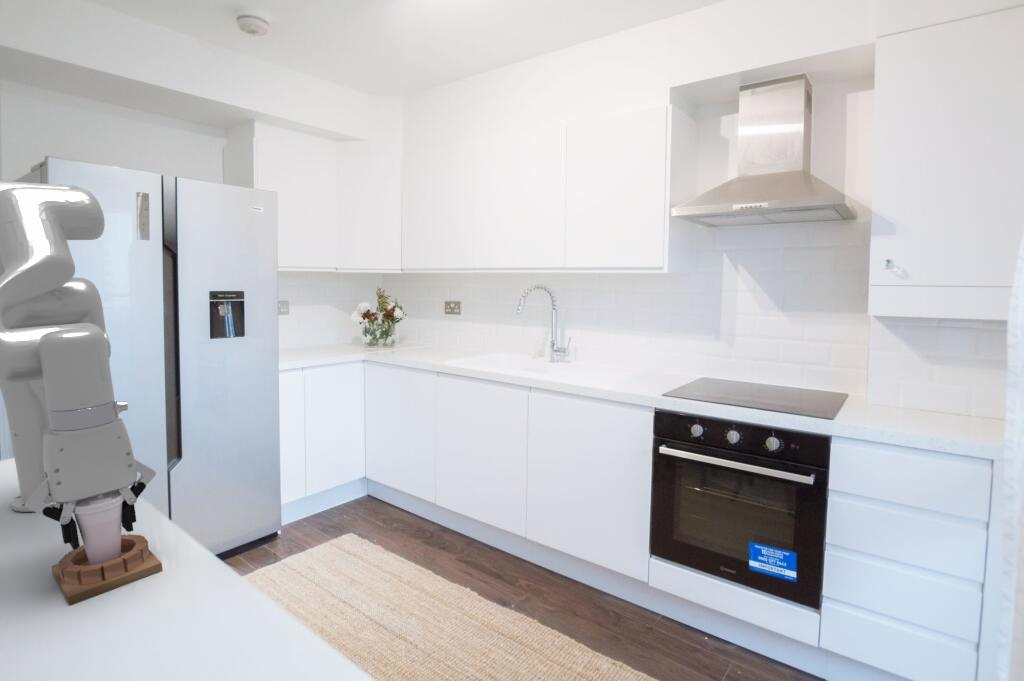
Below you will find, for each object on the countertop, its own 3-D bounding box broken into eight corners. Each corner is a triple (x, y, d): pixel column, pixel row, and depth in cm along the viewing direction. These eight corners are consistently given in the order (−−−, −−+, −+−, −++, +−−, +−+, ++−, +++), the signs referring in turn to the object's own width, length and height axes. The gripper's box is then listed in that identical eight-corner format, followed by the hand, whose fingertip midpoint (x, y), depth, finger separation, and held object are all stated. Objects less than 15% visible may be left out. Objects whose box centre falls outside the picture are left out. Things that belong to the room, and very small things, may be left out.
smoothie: (104, 574, 80) (91, 478, 78) (66, 570, 81) (53, 476, 79) (142, 551, 86) (131, 462, 84) (106, 547, 87) (95, 460, 85)
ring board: (52, 573, 84) (49, 553, 83) (138, 544, 92) (136, 525, 91) (69, 605, 76) (65, 583, 75) (162, 570, 84) (159, 550, 83)
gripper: (146, 400, 89) (160, 509, 92) (-1, 426, 77) (21, 552, 79) (161, 407, 84) (176, 523, 87) (6, 437, 72) (29, 571, 74)
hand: (101, 535), depth 83 cm, fingers closed on smoothie, 5 cm apart
